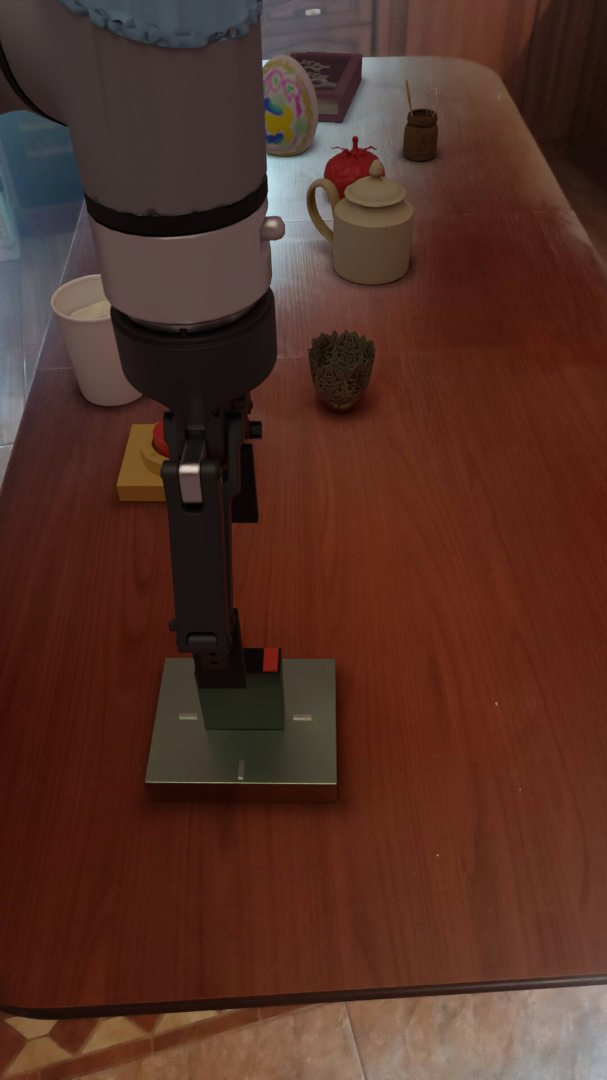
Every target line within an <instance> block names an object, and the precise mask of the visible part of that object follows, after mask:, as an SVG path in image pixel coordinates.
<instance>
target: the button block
mask: <svg viewBox="0 0 607 1080" xmlns="http://www.w3.org/2000/svg"><path fill="white" fill-rule="evenodd" d="M158 422H159V421H157V422H155V423H132V424H131V428H130V432H129V435H128V440H127V443H126V447H125V450H124V454H123V455H124V456H123V459H122V462H121V467H120V470H119V474H118V476H117V477H118V478H117V483H116V486H115V487H116V491H117V494H118V499H119V501H120V502H166V499H165V493H164V486H163V480H162V479H161V476H160V470H161V468H162V463H163V461H164V460H169V458H167V457H164V456H162V455H161V454H160V453H158V451H157V450H156V447H155V443H154V438H153V429H154V427H155V426H156V424H157V423H158Z"/></svg>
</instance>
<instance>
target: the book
mask: <svg viewBox="0 0 607 1080" xmlns="http://www.w3.org/2000/svg"><path fill="white" fill-rule="evenodd" d="M283 55H287V56H290V57H292V58H294V59H295V60H296V61H297V62H299V64H300V65H301V66H302V67H303V68H304V69H305V71H306V73H307V74H308V76H309V78H310V80H311V82H312V84H313V87H314V90H315V93H316V98H317V103H318V122H329V123H343V122H344V120H345V118H346V115H347V113H348V111H349V108H350V106H351V104H352V102H353V100H354V98H355V95H356V94H357V91H358V88H359V86H360V84H361V83H362V79H363V53H348V52H347V53H345V52H327V51H325V52H324V51H308V50H298V49H297V50H296V49H287V50H286V51H285V52H284V54H283Z"/></svg>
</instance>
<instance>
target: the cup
mask: <svg viewBox="0 0 607 1080" xmlns="http://www.w3.org/2000/svg"><path fill="white" fill-rule="evenodd" d="M359 336H360V335H359V334H358V332H357V331H352V332H349V330H348V329H345V330H344V331H343V332H342V333H340V335H339V333H338V332H337V331H336V330H335V329H334V330H333V331H332V332H331V334H329V333H325V332H320V333H319V334H318V336H317V337H316V338H314V337H313V338H312V339H311V348H309V347H307V355H308V363H309V369H310V376H311V381H312V384H313V388H314V389H315V392H316V393H317V395H318V396H319V397H320V398H321V399H322V400H323V401H324V404H325V406H326V408H327V409H328V411H330V412H332V413H334V414H346V413H349V412H351V411H352V410H353V409H354V408H355V407H356V404H357V401H358V400H359V399H361V398H362V397H363V396H364V394H365V393H366V392H367V389H368V388H369V385H370V381H371V377H372V372H373V367H374V362H375V358H376V357H375V356H376V353H377V348H376V347H375V346H376V344H375V341H374V340H373V339H370V340H368V339H367V336H366V334H362V335H361V336H360V337H359ZM367 340H368V341H367Z"/></svg>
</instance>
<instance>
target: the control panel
mask: <svg viewBox="0 0 607 1080" xmlns="http://www.w3.org/2000/svg"><path fill="white" fill-rule="evenodd" d="M163 660H164V661H163V668H162V673H161V679H160V686H159V690H158V691H159V692H158V697H157V704H156V710H155V715H154V716H155V717H154V723H153V729H152V735H151V739H150V747H149V751H148V752H149V753H148V758H147V759H148V760H147V764H146V771H145V778H144V785H145V787H146V791H147V794H148V797H149V799H150V801H151V802H231V803H232V802H234V803H235V802H236V803H237V802H238V803H245V802H246V803H333V804H334V803H337V798H338V747H337V745H338V744H337V743H338V742H337V741H338V740H337V739H338V737H337V677H336V676H337V674H336V673H337V670H336V669H337V666H336V665H337V662H336V661H337V660H336V658H301V657H300V658H297V657H296V658H295V657H294V658H283V657H282V667H283V683H284V700H285V711H284V729H206V728H205V725H204V720H203V715H202V710H201V705H200V700H199V695H198V690H197V685H196V680H195V675H194V670H195V664H194V659H193V657H165V658H164V659H163Z"/></svg>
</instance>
